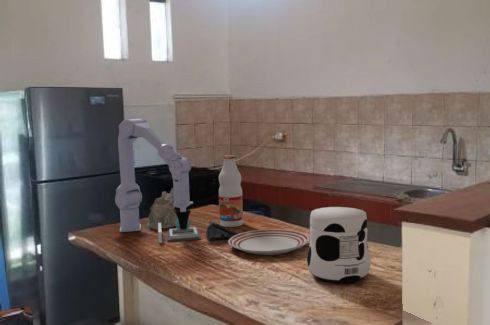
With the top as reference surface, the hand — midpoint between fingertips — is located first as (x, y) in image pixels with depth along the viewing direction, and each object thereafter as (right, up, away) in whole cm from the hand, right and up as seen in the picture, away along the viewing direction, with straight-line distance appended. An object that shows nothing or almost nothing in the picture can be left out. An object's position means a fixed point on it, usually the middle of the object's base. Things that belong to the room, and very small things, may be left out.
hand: (183, 226), depth 182 cm
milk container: (+49, -8, -45) cm, 67 cm away
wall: (-8, -4, -1) cm, 9 cm away
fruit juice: (+18, -1, +16) cm, 24 cm away
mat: (0, -4, 0) cm, 3 cm away
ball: (0, +1, 0) cm, 1 cm away
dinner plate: (+31, -5, -16) cm, 35 cm away
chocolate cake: (+15, -4, -4) cm, 16 cm away
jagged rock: (-12, -2, +21) cm, 24 cm away
